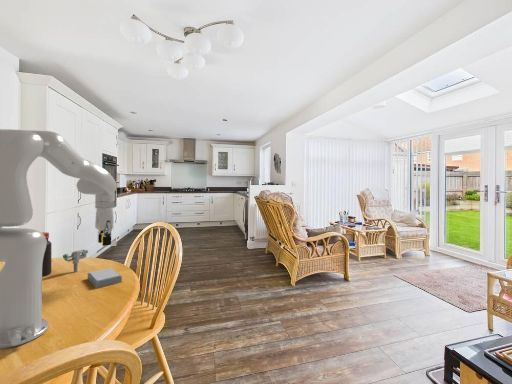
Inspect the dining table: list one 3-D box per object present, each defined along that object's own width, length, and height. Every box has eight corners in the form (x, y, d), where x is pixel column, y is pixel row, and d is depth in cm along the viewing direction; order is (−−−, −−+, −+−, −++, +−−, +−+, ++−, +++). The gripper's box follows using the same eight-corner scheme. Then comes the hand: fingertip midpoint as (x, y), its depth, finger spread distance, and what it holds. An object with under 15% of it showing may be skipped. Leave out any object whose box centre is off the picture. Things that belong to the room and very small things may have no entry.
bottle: (35, 273, 116) (35, 232, 115) (53, 271, 119) (53, 231, 118) (29, 278, 110) (29, 235, 109) (48, 276, 112) (48, 234, 112)
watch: (99, 245, 110) (99, 232, 110) (106, 244, 112) (106, 232, 112) (102, 247, 106) (102, 234, 106) (110, 246, 108) (109, 233, 108)
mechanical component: (62, 274, 115) (62, 254, 115) (85, 268, 124) (85, 249, 124) (65, 275, 114) (65, 255, 113) (88, 269, 123) (88, 250, 122)
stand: (121, 281, 109) (121, 275, 109) (96, 288, 102) (96, 281, 101) (111, 273, 118) (111, 267, 118) (87, 278, 111) (87, 272, 111)
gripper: (90, 203, 112) (89, 241, 112) (101, 206, 100) (100, 249, 101) (108, 203, 117) (107, 239, 118) (120, 206, 106) (120, 246, 106)
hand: (104, 243), depth 109 cm, fingers closed on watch, 6 cm apart
